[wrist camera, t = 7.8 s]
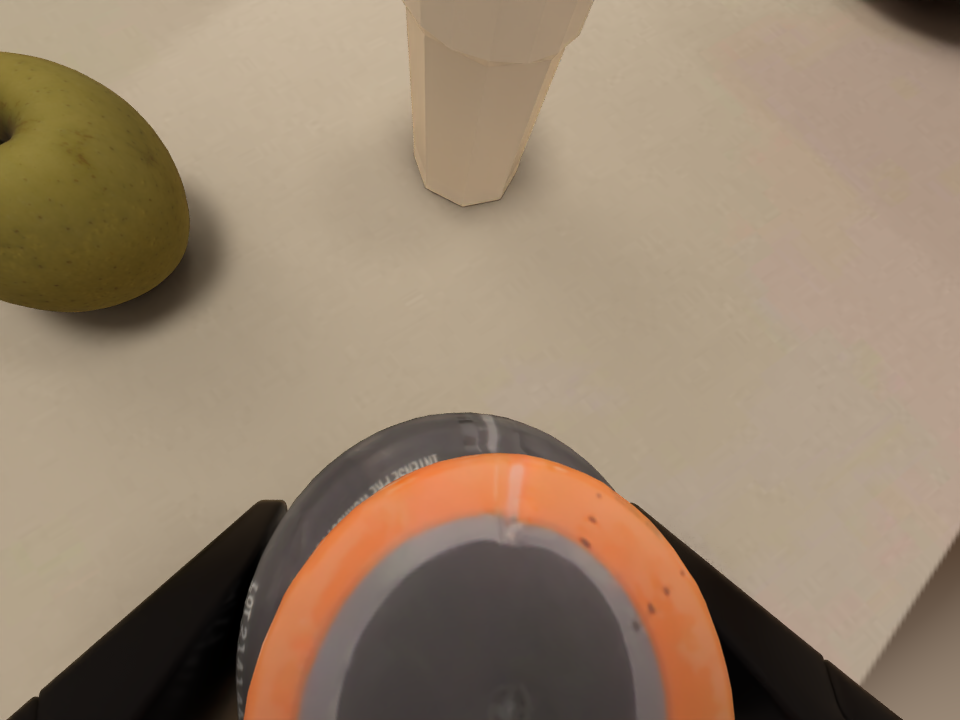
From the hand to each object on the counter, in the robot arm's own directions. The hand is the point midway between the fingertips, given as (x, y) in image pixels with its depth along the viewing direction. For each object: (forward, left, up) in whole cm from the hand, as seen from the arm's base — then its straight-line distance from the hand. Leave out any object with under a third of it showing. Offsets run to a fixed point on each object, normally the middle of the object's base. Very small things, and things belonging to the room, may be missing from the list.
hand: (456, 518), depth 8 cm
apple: (+16, -2, -10) cm, 19 cm away
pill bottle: (-1, +1, -7) cm, 7 cm away
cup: (+7, -15, -10) cm, 19 cm away
